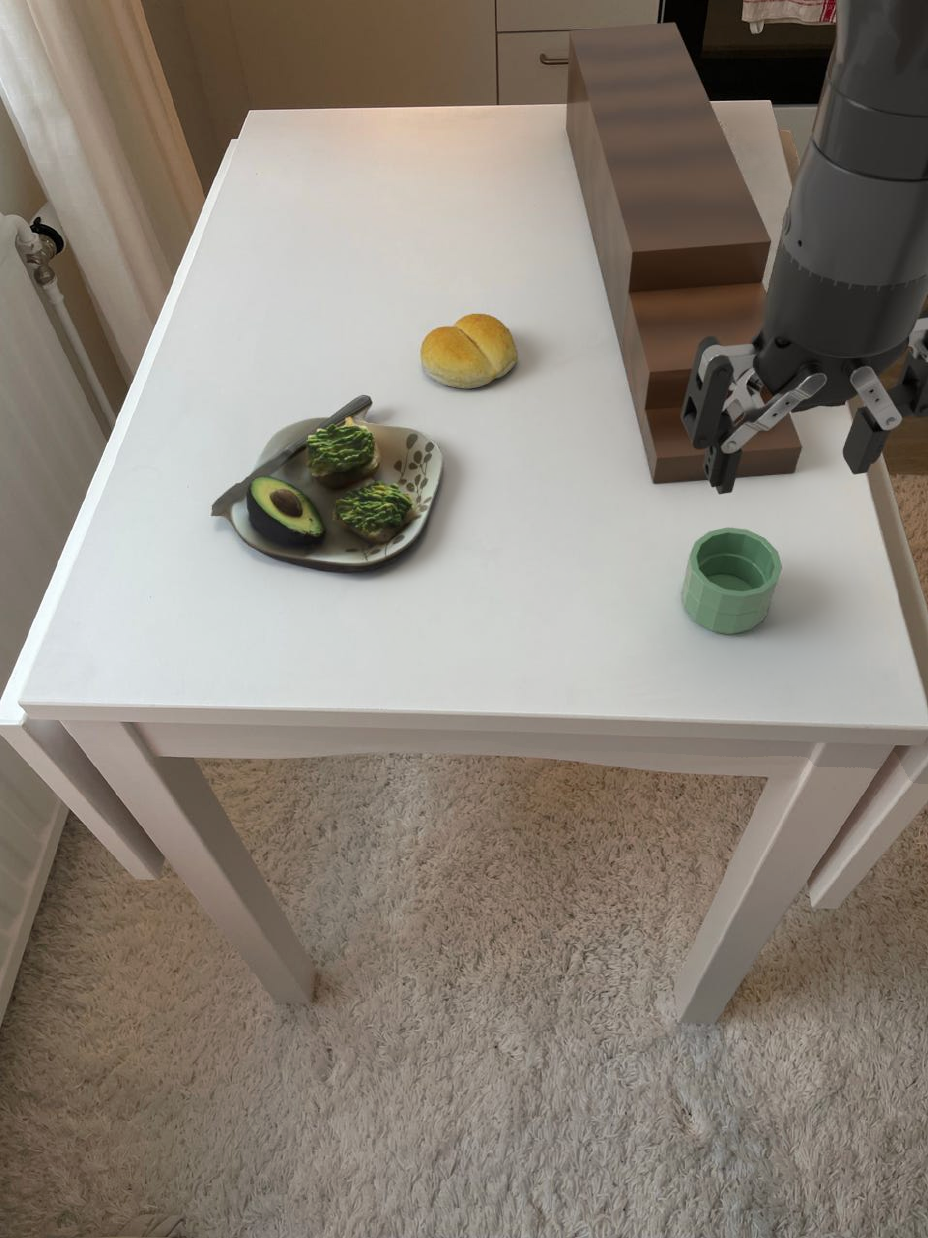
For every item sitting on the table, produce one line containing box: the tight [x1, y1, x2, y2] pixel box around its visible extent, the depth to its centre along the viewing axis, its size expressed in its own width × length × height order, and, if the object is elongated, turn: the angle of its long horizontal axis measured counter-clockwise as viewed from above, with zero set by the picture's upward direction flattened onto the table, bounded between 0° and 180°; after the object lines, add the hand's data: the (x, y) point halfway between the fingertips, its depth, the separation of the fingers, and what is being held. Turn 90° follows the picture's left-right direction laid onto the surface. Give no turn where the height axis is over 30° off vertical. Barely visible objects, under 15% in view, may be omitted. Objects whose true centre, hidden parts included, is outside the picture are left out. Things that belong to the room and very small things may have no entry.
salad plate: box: [210, 394, 445, 574], centre depth 80 cm, size 19×18×5 cm
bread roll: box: [420, 313, 519, 390], centre depth 90 cm, size 8×9×4 cm
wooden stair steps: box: [565, 21, 803, 484], centre depth 94 cm, size 61×12×11 cm, turn 3°
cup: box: [681, 527, 783, 635], centre depth 71 cm, size 6×6×5 cm
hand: (787, 474), depth 59 cm, fingers open, 8 cm apart
